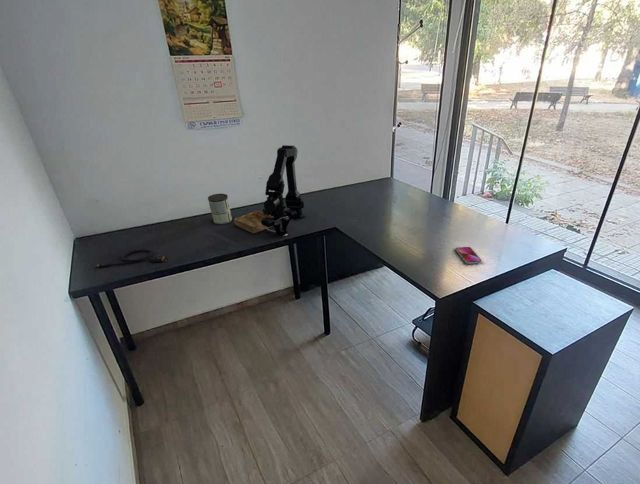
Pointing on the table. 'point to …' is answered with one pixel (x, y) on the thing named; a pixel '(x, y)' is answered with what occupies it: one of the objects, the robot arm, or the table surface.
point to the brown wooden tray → (251, 221)
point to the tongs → (282, 231)
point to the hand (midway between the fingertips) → (281, 233)
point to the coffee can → (220, 208)
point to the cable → (154, 259)
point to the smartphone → (468, 255)
